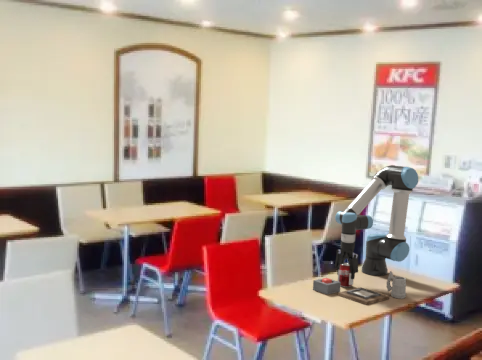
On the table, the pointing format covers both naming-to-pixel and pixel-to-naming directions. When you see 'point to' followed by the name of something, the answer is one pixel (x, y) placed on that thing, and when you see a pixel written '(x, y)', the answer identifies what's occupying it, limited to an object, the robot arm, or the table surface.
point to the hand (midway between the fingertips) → (345, 282)
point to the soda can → (344, 274)
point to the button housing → (326, 286)
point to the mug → (397, 286)
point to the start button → (327, 280)
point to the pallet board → (363, 295)
